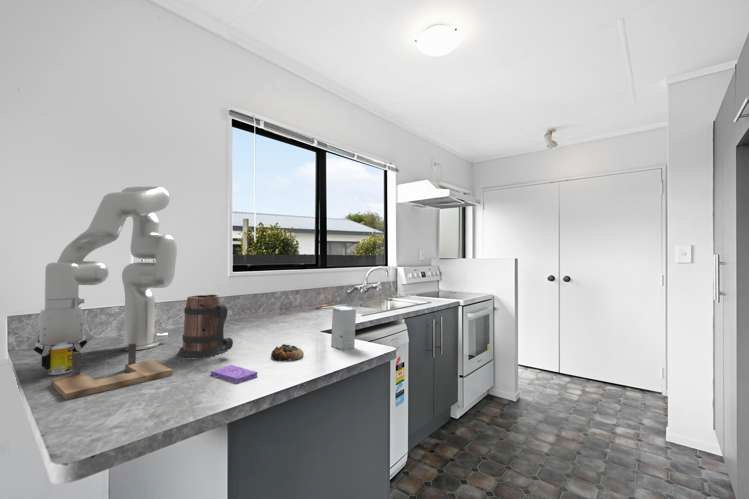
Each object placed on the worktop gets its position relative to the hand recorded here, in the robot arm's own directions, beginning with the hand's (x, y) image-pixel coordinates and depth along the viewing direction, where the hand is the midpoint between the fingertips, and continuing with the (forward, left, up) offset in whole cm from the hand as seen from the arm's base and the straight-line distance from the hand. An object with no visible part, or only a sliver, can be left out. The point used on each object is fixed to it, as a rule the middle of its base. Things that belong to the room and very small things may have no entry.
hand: (60, 365), depth 108 cm
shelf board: (-8, +19, -2) cm, 21 cm away
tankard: (-38, +12, -2) cm, 40 cm away
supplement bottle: (0, 0, -2) cm, 2 cm away
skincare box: (-75, +42, -2) cm, 86 cm away
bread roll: (-53, +37, -3) cm, 65 cm away
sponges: (-31, +41, -3) cm, 52 cm away
